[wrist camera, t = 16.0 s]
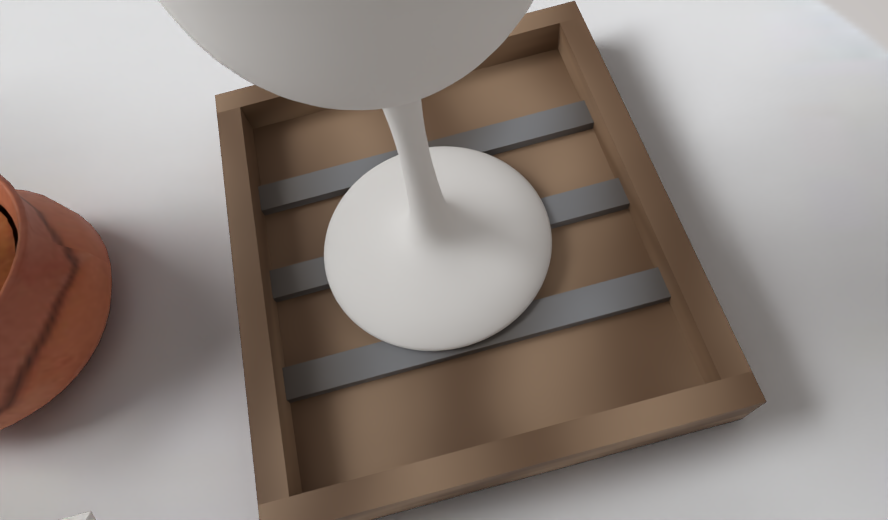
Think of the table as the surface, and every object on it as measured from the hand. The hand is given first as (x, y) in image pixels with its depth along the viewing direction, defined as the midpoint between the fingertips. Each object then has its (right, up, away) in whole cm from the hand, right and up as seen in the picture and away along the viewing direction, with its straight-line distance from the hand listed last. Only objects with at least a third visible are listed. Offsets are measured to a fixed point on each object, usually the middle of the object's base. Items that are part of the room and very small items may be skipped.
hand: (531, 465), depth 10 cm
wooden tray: (-1, +3, +16) cm, 16 cm away
